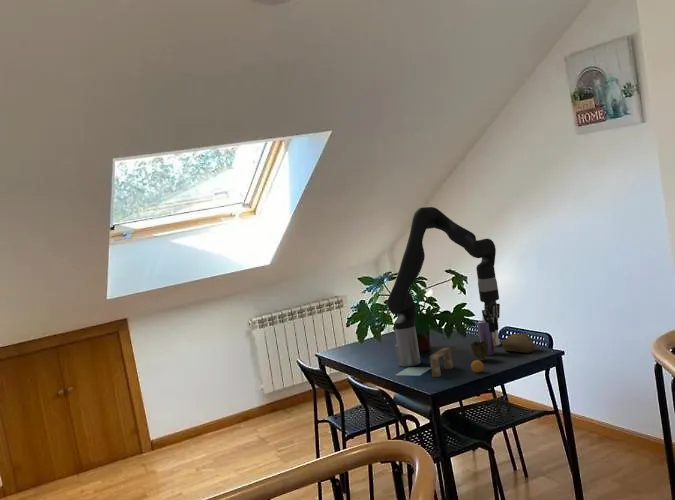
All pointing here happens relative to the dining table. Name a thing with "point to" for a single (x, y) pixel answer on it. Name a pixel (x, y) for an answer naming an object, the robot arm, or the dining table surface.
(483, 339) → the beverage can
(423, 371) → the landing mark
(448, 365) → the bridge
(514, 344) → the bread roll
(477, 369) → the ball
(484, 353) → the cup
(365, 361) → the dining table surface
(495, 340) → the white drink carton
